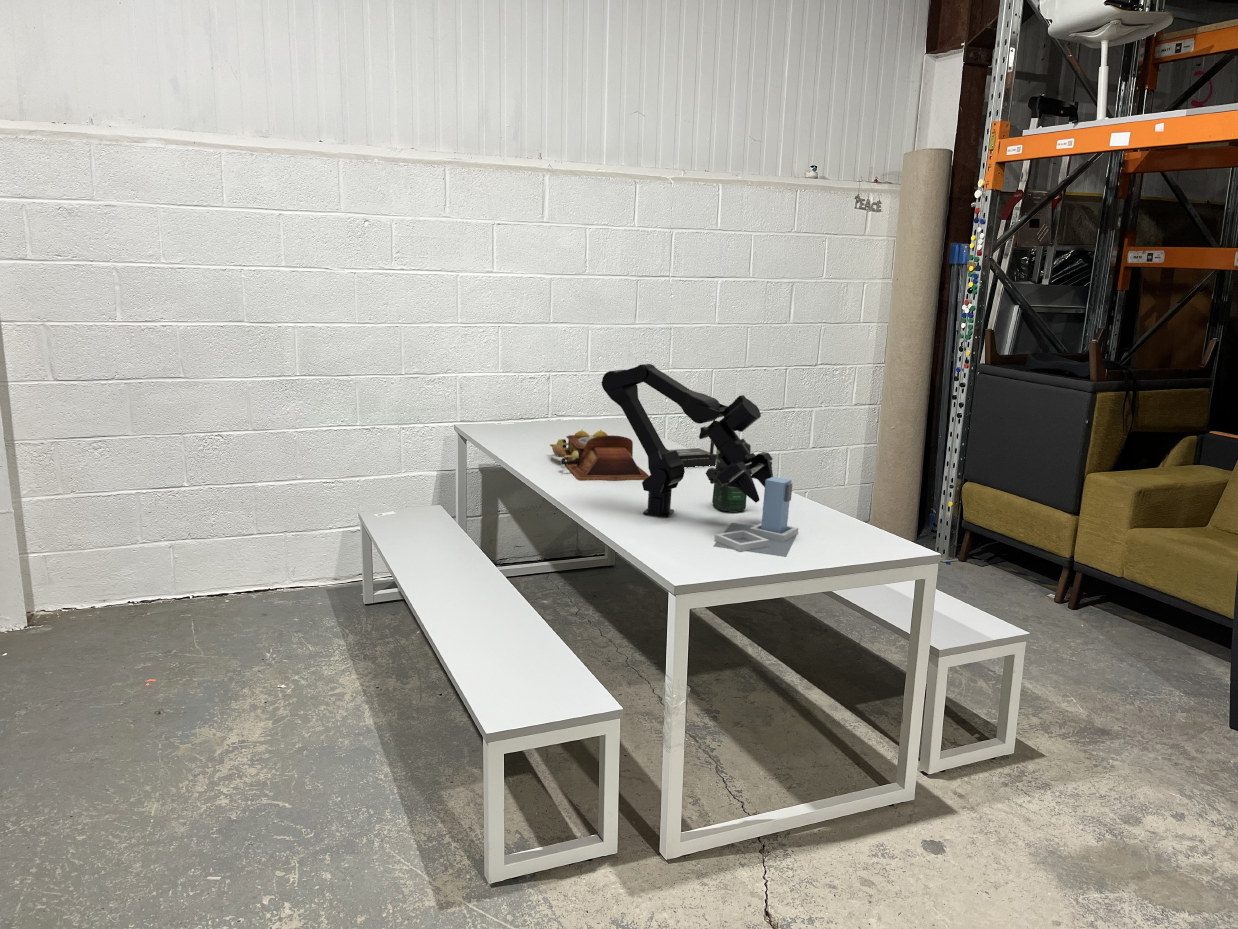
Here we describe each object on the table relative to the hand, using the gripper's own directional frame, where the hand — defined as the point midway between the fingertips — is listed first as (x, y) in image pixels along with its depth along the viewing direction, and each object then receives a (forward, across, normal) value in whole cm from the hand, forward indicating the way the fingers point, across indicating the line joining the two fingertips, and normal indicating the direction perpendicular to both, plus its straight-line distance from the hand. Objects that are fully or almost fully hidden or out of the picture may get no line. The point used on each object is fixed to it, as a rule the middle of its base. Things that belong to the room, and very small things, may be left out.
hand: (766, 497), depth 214 cm
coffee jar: (-5, -17, -19) cm, 26 cm away
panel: (+8, +6, -6) cm, 11 cm away
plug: (+8, 0, -4) cm, 9 cm away
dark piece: (-28, -59, -44) cm, 78 cm away
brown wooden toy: (-42, -34, -58) cm, 79 cm away
